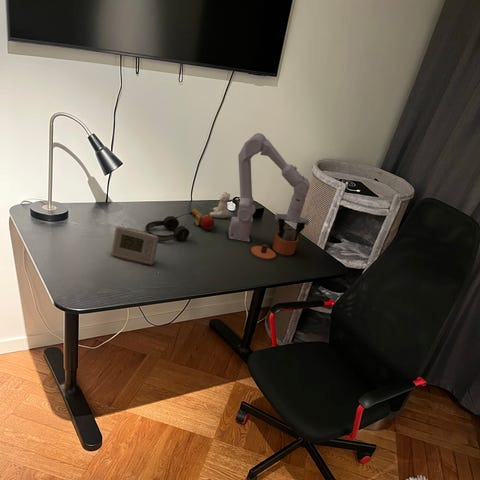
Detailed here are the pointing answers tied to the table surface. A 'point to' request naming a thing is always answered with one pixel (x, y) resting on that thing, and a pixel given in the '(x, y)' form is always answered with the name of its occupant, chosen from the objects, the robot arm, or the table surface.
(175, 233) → the headset
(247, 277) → the table surface
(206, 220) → the kendama
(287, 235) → the dice cube
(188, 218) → the table surface
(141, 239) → the digital clock
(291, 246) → the pot
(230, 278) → the table surface
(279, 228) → the robot arm
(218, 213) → the seated beast figurine
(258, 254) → the lid
